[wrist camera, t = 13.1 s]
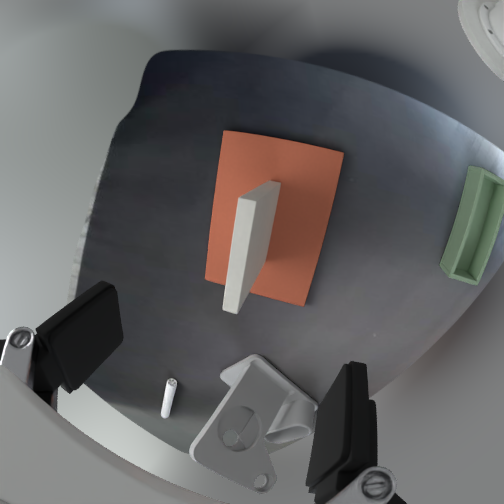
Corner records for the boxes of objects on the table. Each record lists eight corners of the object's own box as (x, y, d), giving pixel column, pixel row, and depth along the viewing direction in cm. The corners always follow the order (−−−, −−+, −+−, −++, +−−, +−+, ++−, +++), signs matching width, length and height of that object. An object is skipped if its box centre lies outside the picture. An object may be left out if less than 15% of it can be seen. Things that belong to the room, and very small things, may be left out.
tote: (468, 165, 24) (482, 167, 20) (496, 180, 23) (510, 184, 20) (438, 265, 29) (448, 277, 26) (466, 274, 28) (477, 286, 25)
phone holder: (322, 406, 42) (310, 492, 26) (281, 421, 47) (260, 497, 30) (256, 351, 41) (219, 446, 25) (217, 373, 45) (176, 453, 29)
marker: (169, 416, 57) (165, 423, 55) (162, 412, 57) (158, 419, 55) (178, 381, 49) (173, 389, 47) (169, 376, 49) (164, 384, 47)
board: (269, 180, 30) (238, 197, 20) (281, 182, 30) (256, 201, 19) (254, 258, 34) (222, 309, 24) (265, 261, 34) (237, 314, 23)
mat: (226, 130, 30) (223, 130, 29) (343, 152, 28) (344, 152, 27) (207, 277, 38) (204, 279, 37) (304, 303, 36) (303, 307, 35)
